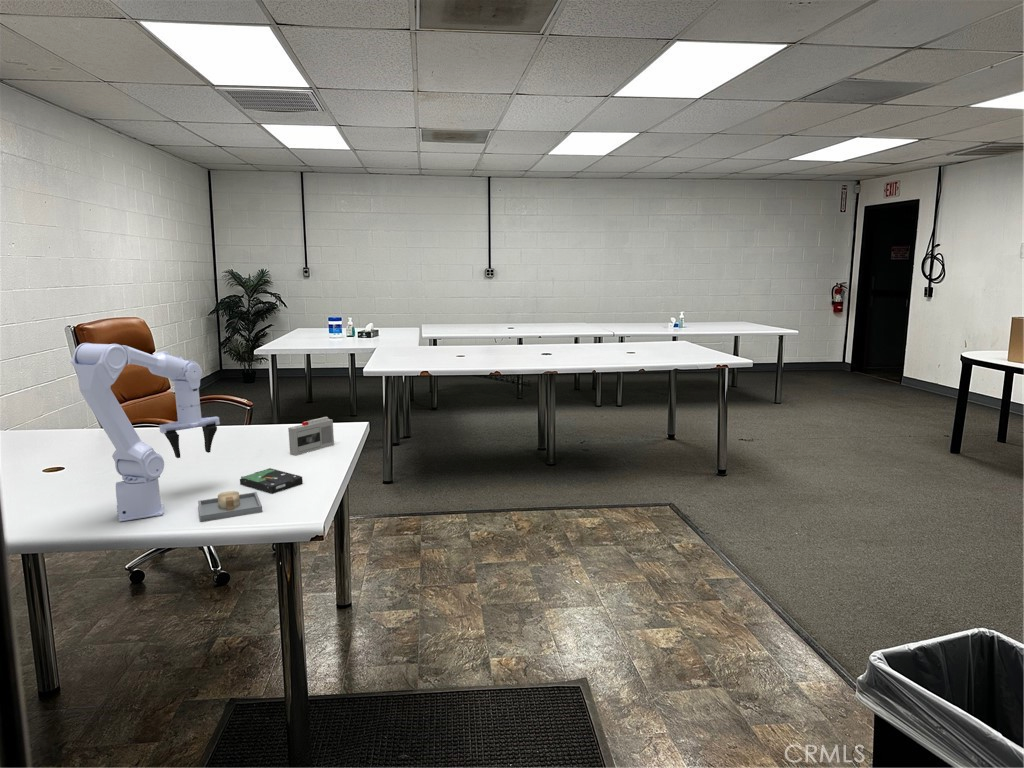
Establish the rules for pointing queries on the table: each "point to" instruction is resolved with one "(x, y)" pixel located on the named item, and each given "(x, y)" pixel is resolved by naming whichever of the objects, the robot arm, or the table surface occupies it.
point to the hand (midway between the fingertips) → (193, 454)
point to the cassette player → (311, 436)
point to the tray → (213, 512)
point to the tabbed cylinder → (228, 500)
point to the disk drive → (271, 480)
